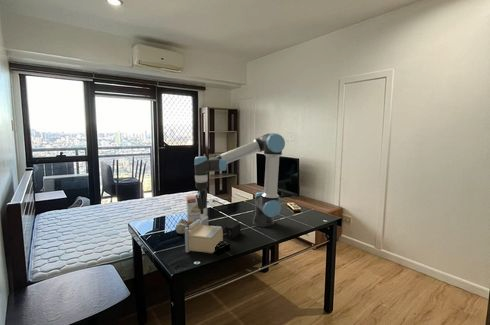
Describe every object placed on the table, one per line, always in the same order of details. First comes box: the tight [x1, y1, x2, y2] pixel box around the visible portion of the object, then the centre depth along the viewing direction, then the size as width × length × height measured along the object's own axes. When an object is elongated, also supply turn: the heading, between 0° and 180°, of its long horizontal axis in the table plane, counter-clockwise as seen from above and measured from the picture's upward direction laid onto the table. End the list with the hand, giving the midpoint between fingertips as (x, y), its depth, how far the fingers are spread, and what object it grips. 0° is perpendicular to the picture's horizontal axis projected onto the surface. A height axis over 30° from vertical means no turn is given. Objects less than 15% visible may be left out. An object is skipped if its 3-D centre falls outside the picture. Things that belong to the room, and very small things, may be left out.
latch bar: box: [189, 219, 201, 230], centre depth 150 cm, size 2×12×2 cm, turn 165°
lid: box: [189, 222, 223, 239], centre depth 148 cm, size 14×16×3 cm
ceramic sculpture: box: [175, 218, 191, 235], centre depth 172 cm, size 11×9×15 cm
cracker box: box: [185, 194, 208, 224], centre depth 184 cm, size 14×6×21 cm, turn 112°
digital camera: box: [224, 222, 241, 240], centre depth 163 cm, size 10×5×7 cm, turn 150°
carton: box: [184, 215, 224, 254], centre depth 152 cm, size 15×28×14 cm, turn 165°
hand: (203, 218), depth 160 cm, fingers closed
